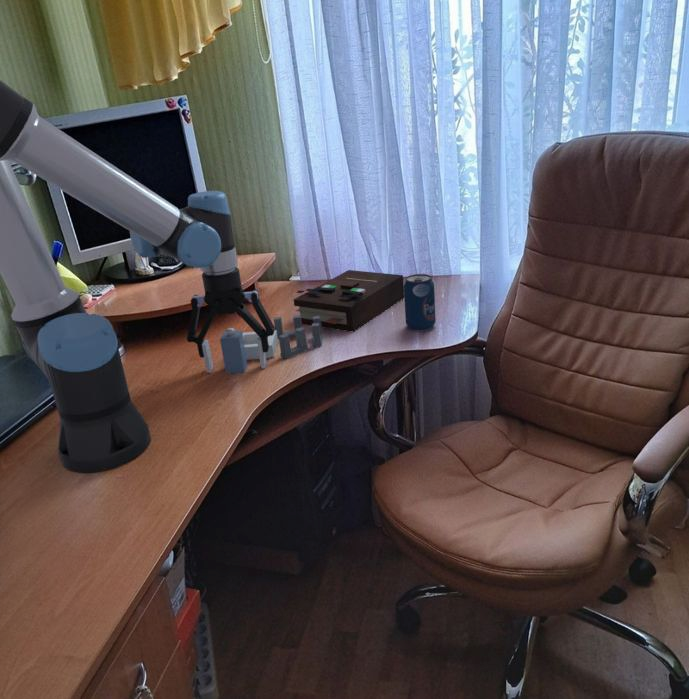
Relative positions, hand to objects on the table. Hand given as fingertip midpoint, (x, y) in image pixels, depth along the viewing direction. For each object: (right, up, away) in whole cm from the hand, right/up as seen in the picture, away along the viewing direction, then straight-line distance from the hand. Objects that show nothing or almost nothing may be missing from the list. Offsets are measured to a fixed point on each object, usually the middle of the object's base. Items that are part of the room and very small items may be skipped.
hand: (237, 367), depth 142 cm
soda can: (+41, +9, +13) cm, 44 cm away
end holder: (+3, +4, +8) cm, 9 cm away
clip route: (+12, +5, +9) cm, 16 cm away
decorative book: (+25, +13, +28) cm, 40 cm away
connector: (0, 0, 0) cm, 0 cm away
